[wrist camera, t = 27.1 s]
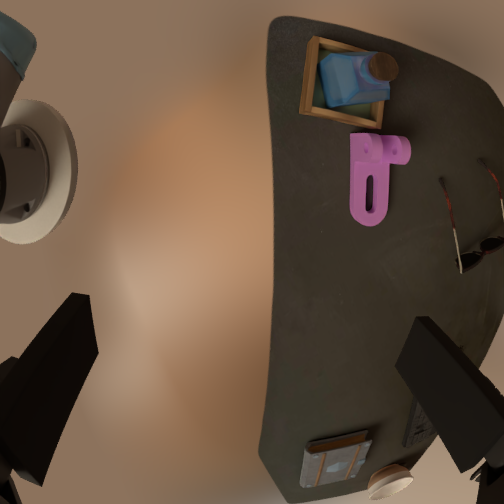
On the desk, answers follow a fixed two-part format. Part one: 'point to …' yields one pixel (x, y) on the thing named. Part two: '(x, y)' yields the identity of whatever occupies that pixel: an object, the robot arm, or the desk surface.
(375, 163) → the bracket
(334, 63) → the blue bottle with cork
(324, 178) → the desk surface
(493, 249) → the sunglasses
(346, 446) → the book
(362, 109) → the holder
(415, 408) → the keyboard
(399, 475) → the bowl
